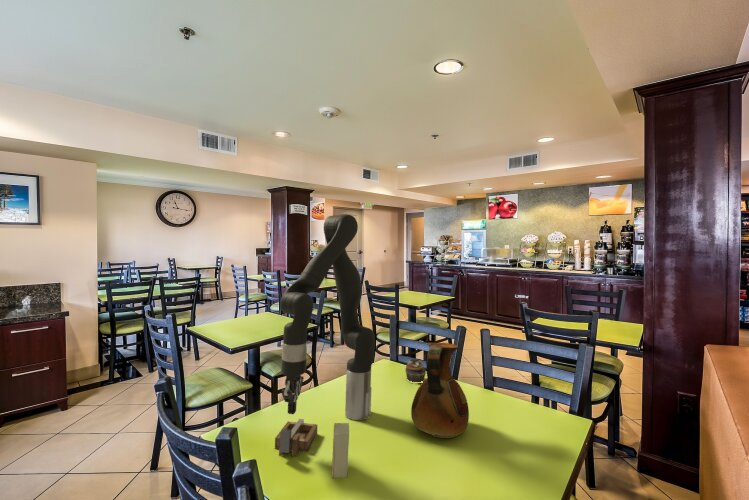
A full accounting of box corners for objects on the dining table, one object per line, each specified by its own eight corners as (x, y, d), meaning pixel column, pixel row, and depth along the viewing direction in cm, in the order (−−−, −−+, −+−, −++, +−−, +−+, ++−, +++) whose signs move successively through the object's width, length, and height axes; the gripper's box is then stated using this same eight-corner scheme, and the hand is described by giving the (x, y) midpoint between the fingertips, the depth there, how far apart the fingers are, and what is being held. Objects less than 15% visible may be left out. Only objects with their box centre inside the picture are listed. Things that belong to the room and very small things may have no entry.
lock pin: (305, 426, 117) (306, 409, 117) (288, 452, 102) (289, 432, 102) (297, 426, 117) (297, 408, 117) (279, 451, 102) (280, 431, 102)
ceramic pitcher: (472, 423, 128) (475, 341, 127) (461, 452, 109) (465, 357, 109) (420, 411, 136) (423, 334, 135) (402, 436, 118) (405, 347, 117)
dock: (317, 433, 117) (317, 418, 117) (303, 457, 104) (304, 440, 104) (287, 430, 119) (287, 415, 119) (270, 454, 105) (271, 436, 105)
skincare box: (332, 464, 102) (333, 422, 101) (347, 463, 102) (349, 422, 102) (331, 478, 95) (332, 434, 95) (347, 478, 96) (349, 434, 95)
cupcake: (404, 383, 162) (405, 362, 162) (406, 375, 172) (406, 355, 172) (425, 385, 161) (426, 364, 161) (425, 377, 170) (426, 357, 170)
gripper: (298, 365, 101) (295, 424, 101) (312, 351, 114) (310, 404, 114) (273, 362, 102) (271, 422, 102) (290, 349, 115) (288, 402, 115)
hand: (291, 412), depth 108 cm, fingers closed
